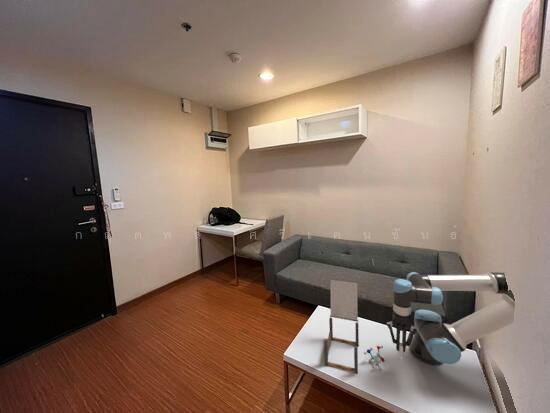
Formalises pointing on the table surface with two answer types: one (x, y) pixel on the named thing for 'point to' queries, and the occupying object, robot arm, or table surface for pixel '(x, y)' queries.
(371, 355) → the molecular model
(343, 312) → the lid
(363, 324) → the table surface
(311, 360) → the table surface
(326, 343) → the housing
